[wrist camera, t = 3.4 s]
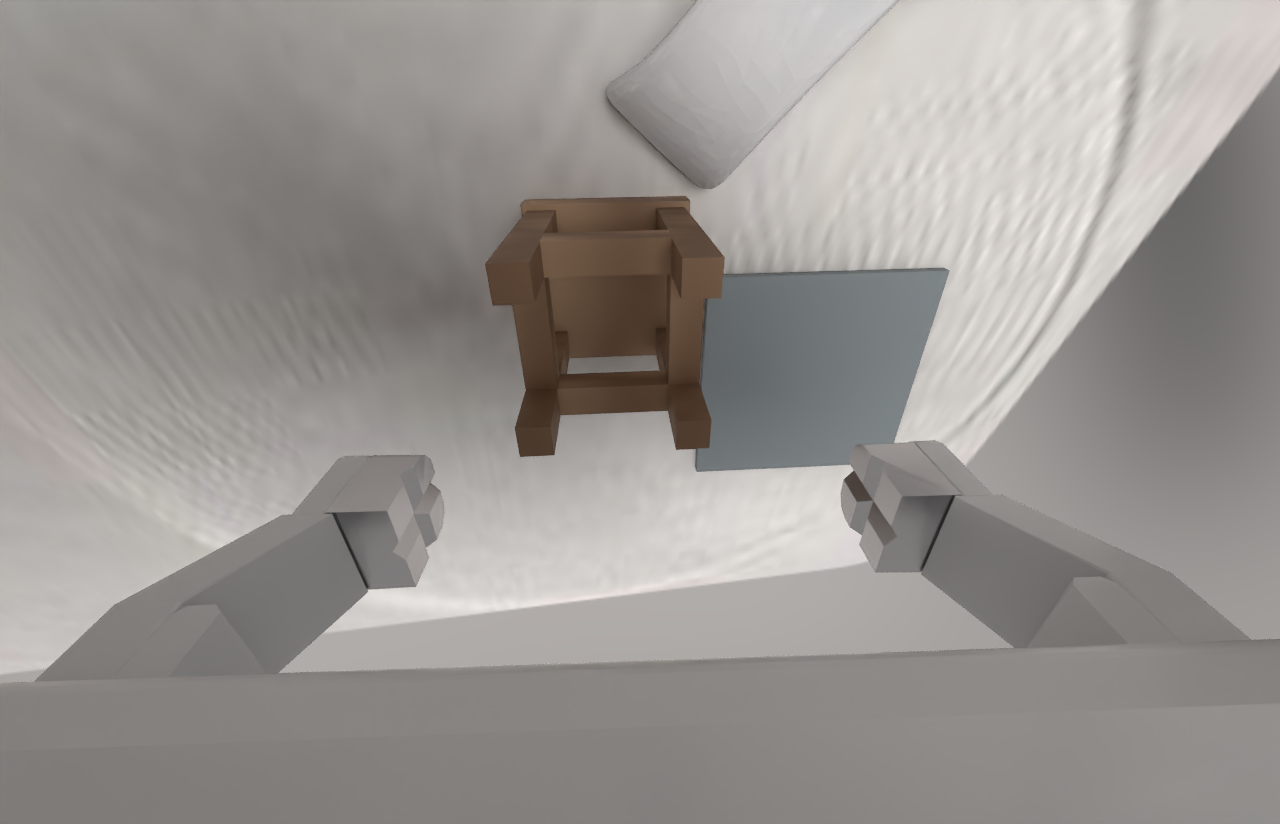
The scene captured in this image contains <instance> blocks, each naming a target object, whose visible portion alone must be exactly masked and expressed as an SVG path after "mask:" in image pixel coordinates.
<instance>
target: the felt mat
mask: <svg viewBox="0 0 1280 824" xmlns="http://www.w3.org/2000/svg"><path fill="white" fill-rule="evenodd" d="M948 274H949V270H947V269H945V268H927V269H893V270H859V271H825V272H791V273H757V274H723V282H722V295H721V298H713V299H706V303H705V319H704V336H703V352H702V368H701V385H700V387H701V390H702V393H703V396H704V399H705V402H706V405H707V408H708V411H709V414H710V417H711V420H712V421H711V434H710V446H709V448H701V449H697V450H696V466H695V467H696V471H697V472H702V471H723V470H745V469H766V468H787V467H809V466H830V465H850V463H849V458H850V455H851V451H852V450H853V448H854V447H855V445H856V444H882V443H894V440H895V437H896V434H897V431H898V428H899V424H900V421H901V418H902V415H903V412H904V409H905V406H906V403H907V400H908V397H909V394H910V391H911V388H912V385H913V382H914V378H915V375H916V372H917V369H918V366H919V363H920V360H921V357H922V354H923V351H924V348H925V345H926V342H927V339H928V336H929V332H930V329H931V326H932V323H933V320H934V317H935V314H936V311H937V308H938V305H939V302H940V299H941V296H942V293H943V290H944V287H945V283H946V280H947V277H948Z"/></svg>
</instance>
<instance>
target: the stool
mask: <svg viewBox="0 0 1280 824" xmlns="http://www.w3.org/2000/svg"><path fill="white" fill-rule="evenodd" d="M521 211H522V218H521V219H520V220H519V222H518V223H517V224H516V226H515V227H514V228H513V229H512V231H511V232H510V233H509V234H508V236H507V237H506V238H505V240H504V241H503V242H502V243H501V245H500V246H499V247H498V248H497V250H496V251H495V252H494V253H493V255H492V256H491V257H490V259H489V260H488V261H487V262H486V264H485V265H486V271H487V276H488V282H489V287H490V293H491V298H492V304H493V305H513V311H514V318H515V324H516V330H517V337H518V343H519V349H520V356H521V362H522V368H523V375H524V381H525V387H526V392H525V395H524V399H523V402H522V406H521V409H520V413H519V416H518V420H517V423H516V426H515V431H516V437H517V443H518V448H519V454H520V457H524V456H546V455H554V454H555V447H556V441H557V434H558V427H559V421H560V415H576V414H601V413H625V412H649V411H668V413H669V418H670V423H671V428H672V432H673V437H674V442H675V447H676V450H679V449H701V448H709V446H710V434H711V421H712V420H711V417H710V414H709V411H708V408H707V405H706V402H705V399H704V396H703V393H702V390H701V387H700V384H699V378H700V361H701V344H702V328H703V311H704V299H713V298H721V295H722V282H723V269H724V256H723V255H722V254H721V252H720V251H719V250H718V249H717V247H716V246H715V245H714V244H713V242H712V241H711V240H710V239H709V237H708V236H707V235H706V234H705V232H704V231H703V230H702V229H701V227H700V226H699V225H698V224H697V222H696V221H695V220H694V219H693V217H692V216H691V215H690V200H689V199H688V198H687V197H686V196H667V197H622V198H577V199H532V200H525V201H524V202H523V203H522V204H521ZM638 355H657V359H658V364H659V369H660V371H640V372H614V373H587V374H567V368H568V361H569V358H583V357H611V356H638Z"/></svg>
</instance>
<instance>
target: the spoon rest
mask: <svg viewBox="0 0 1280 824" xmlns="http://www.w3.org/2000/svg"><path fill="white" fill-rule="evenodd" d="M898 1H899V0H696V2H695V3H694V4H693V6H692V7H691V8H690V9H689V11H688V12H687V13H686V14H685V15H684V16H683V18H682V19H681V20H680V21H679V22H678V23H677V25H676V26H675V27H674V28H673V29H672V30H671V31H670V33H669V34H668V35H667V36H666V37H665V38H664V39H663V40H662V41H661V42H660V43H659V45H658V46H657V47H656V48H655V49H654V50H653V51H652V52H651V53H650V54H649V55H648V56H647V57H646V58H645V59H644V60H643V61H642V62H640V63H639V64H638V65H636V66H635V67H633V68H632V69H630V70H629V71H627V72H626V73H624V74H623V75H621V76H620V77H618V78H617V79H615V80H614V81H612V82H611V83H610V84H609V85H608V87H607V90H606V94H607V97H608V99H609V100H610V102H611V103H612V105H613V106H614V107H615V108H616V109H617V110H618V111H619V112H620V113H621V114H622V115H623V116H624V117H625V118H626V119H627V120H628V121H629V122H630V123H631V124H632V125H633V126H634V127H635V128H636V129H637V130H638V131H639V132H640V133H641V134H642V135H643V136H644V137H645V138H646V139H647V140H648V141H649V142H650V143H651V144H652V145H653V146H654V147H655V148H656V149H658V150H659V151H660V152H661V153H662V154H663V155H664V156H665V157H666V158H667V159H668V160H669V161H670V162H671V163H672V164H673V165H675V166H676V167H677V168H678V169H679V170H680V171H681V172H682V173H683V174H684V175H685V176H687V177H688V178H689V179H690V180H691V181H692V182H693V183H695V184H696V185H697V186H699V187H701V188H703V189H712V188H714V187H717V186H718V185H719V184H721V183H722V182H723V181H724V180H725V179H726V178H727V177H728V176H729V175H730V174H731V173H732V172H733V171H734V170H735V169H736V167H737V166H738V165H739V164H740V163H741V162H742V161H743V160H744V159H745V158H746V156H747V155H748V154H749V153H750V152H751V151H752V150H753V149H754V148H755V147H756V146H757V145H758V144H759V143H760V142H761V141H762V140H763V138H764V137H765V136H766V135H767V134H768V133H769V132H770V131H771V130H772V129H773V128H774V127H775V126H776V125H777V123H778V122H779V121H780V120H781V119H782V118H783V117H784V116H785V115H786V114H787V113H788V112H789V111H790V110H791V109H792V108H793V107H794V106H795V105H796V104H797V103H798V102H799V100H800V99H801V98H802V97H803V96H804V95H805V94H806V93H807V92H808V91H809V90H810V89H811V88H812V87H813V86H814V85H815V84H816V83H817V82H818V81H819V80H820V79H821V78H822V77H823V76H824V75H825V74H826V73H827V72H828V71H829V70H830V69H831V68H832V67H833V66H834V65H835V64H836V63H837V62H838V61H839V60H840V59H841V58H842V57H843V56H844V55H845V54H846V53H847V52H848V51H849V50H850V49H851V48H852V47H853V46H854V45H855V44H856V43H857V42H858V41H859V40H860V39H861V38H862V37H863V36H864V35H865V34H866V33H867V32H868V31H869V30H870V29H871V28H872V27H873V26H874V25H875V24H876V23H877V22H878V21H879V20H880V19H881V18H882V17H883V16H884V15H885V14H886V13H887V12H888V11H889V10H890V9H891V8H892V7H893V6H894V5H895V4H896V3H897V2H898Z"/></svg>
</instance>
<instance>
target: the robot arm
mask: <svg viewBox="0 0 1280 824" xmlns="http://www.w3.org/2000/svg"><path fill="white" fill-rule="evenodd" d="M849 463H850V465H851V466H852V468H853V470H854V471H853V472H852V473H851V474H850V475H848V476H847V477H846V478H845V479H844V481H843V485H842V490H841V507H842V511H843V514H844V517H845V519H846V521H847V523H848V525H849V527H850V528H852V529H853V530H855V531H856V532H858V533H859V534H861V535H862V537H861V541H860V544H859V545H860V547H861V548H862V550H863V552H864V554H865V556H866V557H867V559H868V561H869V563H870V564H871V566H872V568H873V570H874V572H922V573H921V574H922V575H923V576H924V577H925V578H926V579H928V580H929V581H930V582H932V583H933V584H934V585H935V586H937V587H938V588H939V589H940V590H942V591H943V592H944V593H945V594H947V595H948V596H949V597H951V598H952V599H953V600H954V601H956V602H957V603H958V604H959V605H961V606H962V607H963V608H965V609H966V610H967V611H969V612H970V613H971V614H972V615H973V616H975V617H976V618H977V619H979V620H980V621H981V622H982V623H984V624H985V625H986V626H987V627H989V628H990V629H991V630H993V631H994V632H995V633H996V634H998V635H999V636H1000V637H1001V638H1003V639H1004V640H1005V641H1006V642H1008V643H1009V644H1010V645H1012V646H1013V647H1014V648H999V649H969V650H942V651H941V650H939V651H913V652H912V651H909V652H882V653H881V652H880V653H851V654H823V655H793V656H765V657H735V658H707V659H679V660H678V659H677V660H648V661H619V662H592V663H591V662H589V663H560V664H531V665H503V666H474V667H445V668H416V669H387V670H357V671H329V672H299V673H279V672H280V671H281V670H282V669H283V668H284V667H285V666H286V665H287V664H288V663H290V662H291V661H292V660H293V659H294V658H295V657H296V656H297V655H299V653H301V652H302V651H303V650H304V649H305V648H306V647H307V646H308V645H310V644H311V643H312V642H313V641H314V640H315V639H316V638H317V637H319V635H321V634H322V633H323V632H324V631H325V630H326V629H327V628H329V627H330V626H331V625H332V624H333V623H334V622H335V621H336V620H337V619H339V618H340V617H341V616H342V615H343V614H344V613H345V612H346V611H347V610H349V609H350V608H351V607H352V606H353V605H354V604H355V603H356V602H357V601H359V600H360V599H361V598H362V597H363V596H364V595H365V594H366V593H367V592H368V589H385V588H402V587H416V586H417V583H418V581H419V579H420V577H421V574H422V572H423V570H424V568H425V566H426V563H427V561H428V559H429V556H428V553H427V550H426V547H427V546H429V545H430V544H431V543H433V542H434V541H435V540H437V538H438V536H439V534H440V531H441V529H442V524H443V518H444V504H443V498H442V495H441V491H440V490H439V489H438V488H436V487H435V486H434V485H433V484H431V483H430V482H431V480H432V478H433V476H434V474H435V471H434V468H433V465H432V462H431V459H430V458H428V457H427V456H425V455H373V456H369V455H367V456H345V457H342V458H339V459H338V460H337V461H336V463H335V464H334V465H333V466H332V467H331V468H330V470H329V471H328V472H327V473H326V474H325V476H324V477H323V478H322V479H321V480H320V482H319V483H318V484H317V485H316V486H315V487H314V489H313V490H312V491H311V492H310V493H309V495H308V496H307V497H306V498H305V499H304V500H303V502H302V503H301V504H300V505H299V506H298V508H297V509H296V510H295V511H294V512H293V514H292V515H281V516H280V517H278V518H276V519H274V520H272V521H270V522H268V523H267V524H265V525H263V526H261V527H259V528H257V529H255V530H253V531H252V532H250V533H248V534H246V535H244V536H242V537H240V538H239V539H237V540H235V541H233V542H231V543H229V544H227V545H225V546H224V547H222V548H220V549H218V550H216V551H214V552H212V553H211V554H209V555H207V556H205V557H203V558H201V559H199V560H197V561H196V562H194V563H192V564H190V565H188V566H186V567H184V568H183V569H181V570H179V571H177V572H175V573H173V574H171V575H169V576H168V577H166V578H164V579H162V580H160V581H158V582H156V583H155V584H153V585H151V586H149V587H147V588H145V589H143V590H141V591H140V592H138V593H136V594H134V595H132V596H130V597H128V598H127V599H125V600H123V601H121V602H119V603H117V604H115V605H114V606H113V607H112V608H111V609H109V610H108V611H107V612H106V613H105V614H104V615H103V616H102V617H101V618H100V619H99V620H98V621H97V622H96V623H95V624H94V625H93V626H92V627H91V628H90V629H89V630H87V631H86V632H85V633H84V634H83V635H82V636H81V637H80V638H79V639H78V640H77V641H76V642H75V643H74V644H73V645H72V646H71V647H70V648H69V649H68V650H67V651H66V652H64V653H63V654H62V655H61V656H60V657H59V658H58V659H57V660H56V661H55V662H54V663H53V664H52V665H51V666H50V667H49V668H48V669H47V670H46V671H45V672H44V673H43V674H41V675H40V676H39V677H38V678H37V679H36V680H35V681H34V682H11V683H0V824H1280V639H1262V640H1251V639H1250V638H1249V637H1248V636H1246V635H1245V634H1244V633H1243V632H1242V631H1240V630H1239V629H1238V628H1237V627H1236V626H1234V625H1233V624H1232V623H1231V622H1230V621H1229V620H1227V619H1226V618H1225V617H1224V616H1223V615H1221V614H1220V613H1219V612H1218V611H1217V610H1215V609H1214V608H1213V607H1212V606H1210V605H1209V604H1208V603H1207V602H1206V601H1205V600H1203V599H1202V598H1201V597H1200V596H1199V595H1197V594H1196V593H1195V592H1194V591H1193V590H1191V589H1190V588H1189V587H1188V586H1187V585H1185V584H1184V583H1183V582H1182V581H1181V580H1179V579H1178V578H1177V577H1176V576H1174V575H1173V574H1172V573H1171V572H1169V571H1166V570H1164V569H1162V568H1160V567H1158V566H1156V565H1153V564H1151V563H1149V562H1147V561H1145V560H1142V559H1140V558H1138V557H1136V556H1134V555H1132V554H1130V553H1127V552H1125V551H1123V550H1121V549H1119V548H1117V547H1114V546H1112V545H1110V544H1107V543H1106V542H1104V541H1101V540H1099V539H1097V538H1095V537H1093V536H1091V535H1088V534H1086V533H1084V532H1082V531H1080V530H1077V529H1075V528H1073V527H1071V526H1069V525H1067V524H1065V523H1062V522H1060V521H1058V520H1056V519H1054V518H1052V517H1049V516H1047V515H1045V514H1043V513H1041V512H1039V511H1036V510H1034V509H1032V508H1030V507H1028V506H1025V505H1023V504H1021V503H1019V502H1017V501H1015V500H1013V499H1010V498H1008V497H1006V496H1004V495H993V494H992V493H991V492H990V491H989V490H988V489H987V488H986V487H985V486H984V485H983V484H982V483H981V482H980V481H979V480H978V479H977V478H976V477H975V476H974V475H973V474H972V473H971V472H970V471H969V470H968V469H967V468H966V467H965V466H964V465H963V463H962V462H961V461H960V460H959V459H958V458H957V457H956V456H955V455H954V454H953V453H952V452H951V451H950V450H949V449H948V448H947V447H946V446H945V445H944V444H943V443H940V442H938V441H935V440H932V441H914V442H908V443H882V444H856V445H855V447H854V448H853V450H852V451H851V455H850V458H849Z"/></svg>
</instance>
